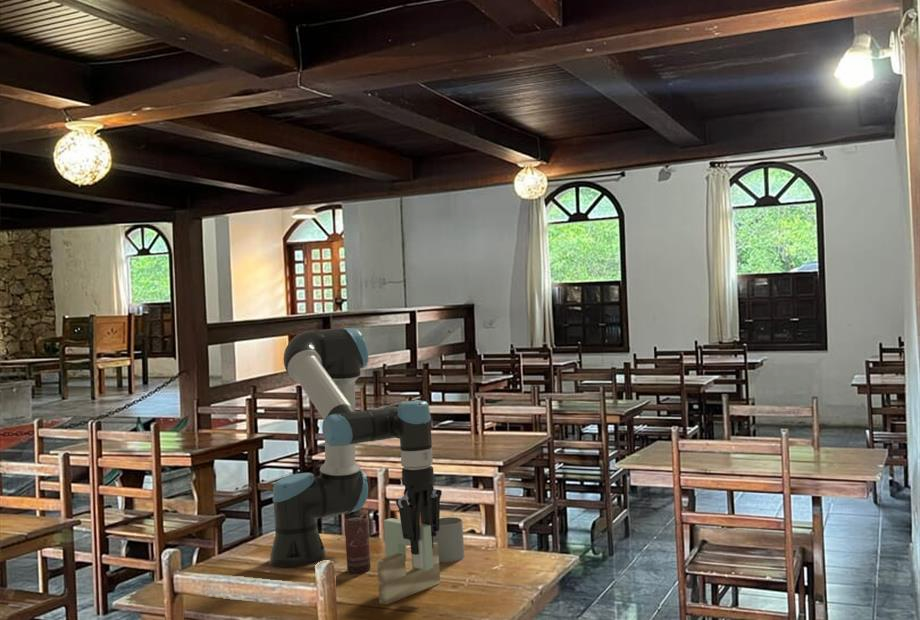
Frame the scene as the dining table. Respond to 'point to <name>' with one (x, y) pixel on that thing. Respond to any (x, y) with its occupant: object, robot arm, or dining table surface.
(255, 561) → the dining table surface
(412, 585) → the birch plate
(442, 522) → the cup
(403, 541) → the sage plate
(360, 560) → the can
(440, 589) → the dining table surface
